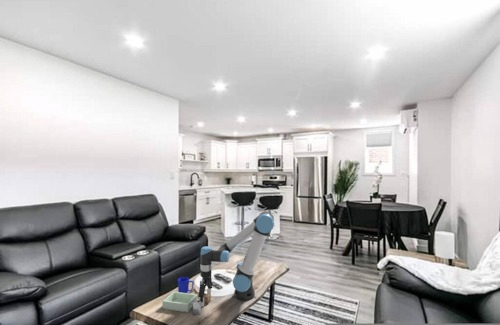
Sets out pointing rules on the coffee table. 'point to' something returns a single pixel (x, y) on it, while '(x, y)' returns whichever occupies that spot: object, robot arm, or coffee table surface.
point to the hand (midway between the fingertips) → (205, 302)
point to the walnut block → (207, 298)
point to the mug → (184, 285)
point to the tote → (179, 301)
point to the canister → (196, 307)
